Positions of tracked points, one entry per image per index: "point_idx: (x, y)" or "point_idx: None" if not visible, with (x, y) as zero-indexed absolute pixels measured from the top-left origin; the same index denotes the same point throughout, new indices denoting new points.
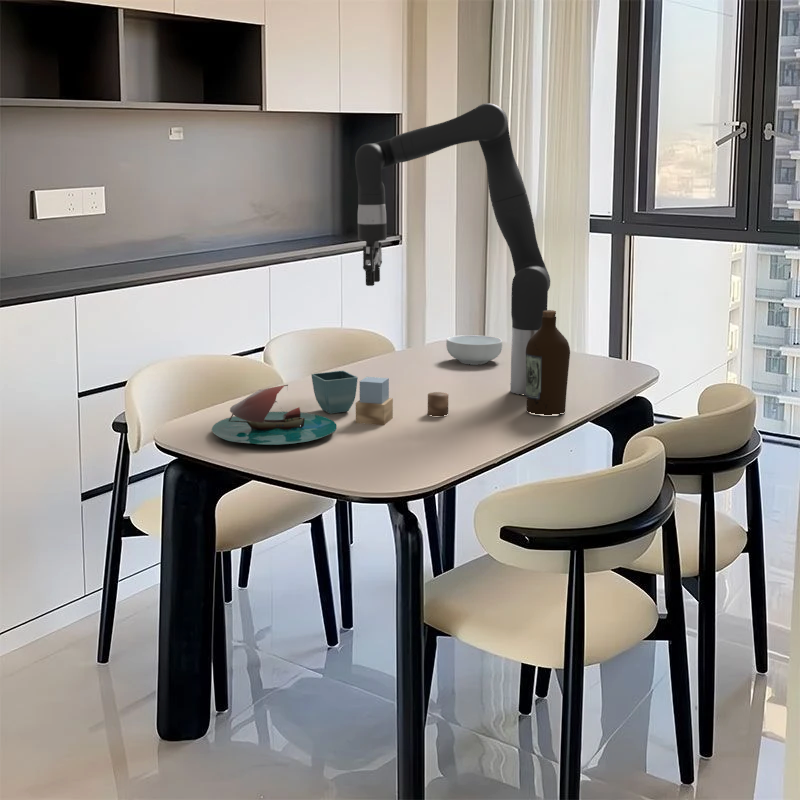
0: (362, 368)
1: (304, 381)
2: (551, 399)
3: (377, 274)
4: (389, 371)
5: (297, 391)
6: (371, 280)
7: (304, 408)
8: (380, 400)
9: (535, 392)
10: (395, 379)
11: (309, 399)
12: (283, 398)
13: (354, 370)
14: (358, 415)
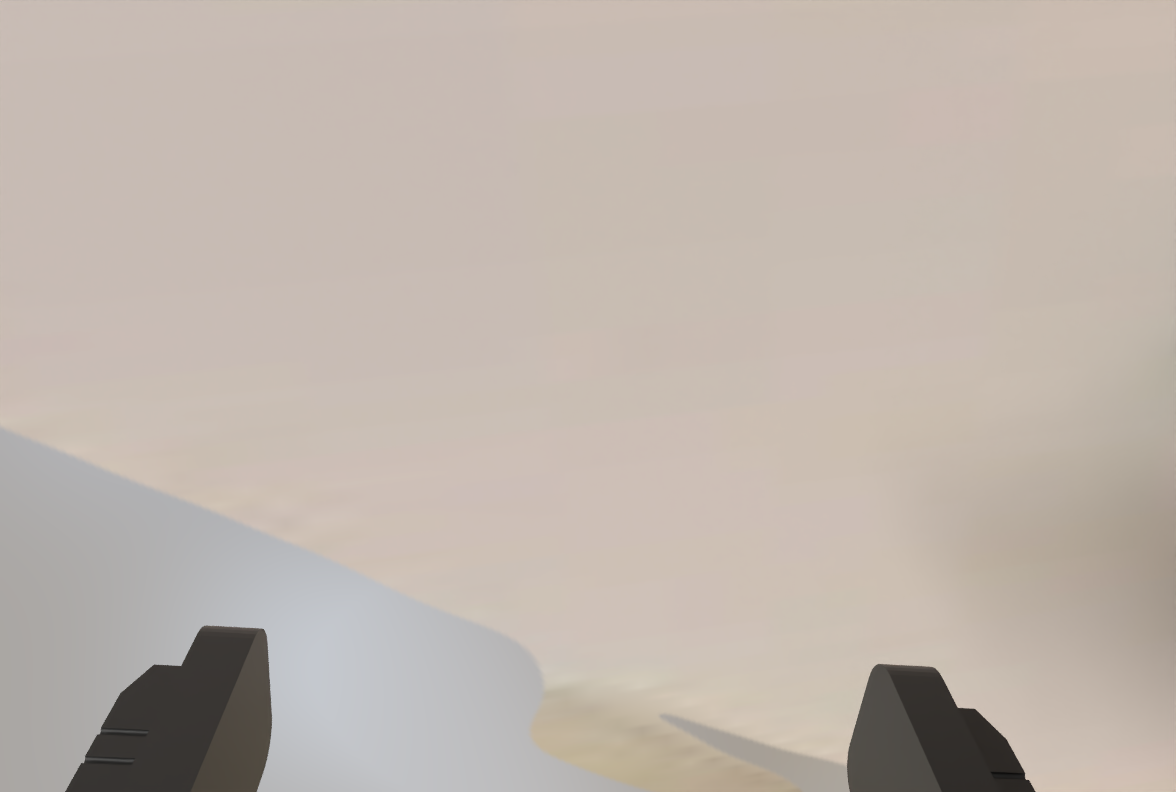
0: (25, 319)
1: (501, 599)
2: None
3: (216, 768)
4: (70, 112)
5: (759, 596)
6: (1016, 771)
7: (1162, 509)
8: None
9: None
10: (352, 43)
11: (956, 514)
12: (921, 633)
13: (110, 365)
14: None
